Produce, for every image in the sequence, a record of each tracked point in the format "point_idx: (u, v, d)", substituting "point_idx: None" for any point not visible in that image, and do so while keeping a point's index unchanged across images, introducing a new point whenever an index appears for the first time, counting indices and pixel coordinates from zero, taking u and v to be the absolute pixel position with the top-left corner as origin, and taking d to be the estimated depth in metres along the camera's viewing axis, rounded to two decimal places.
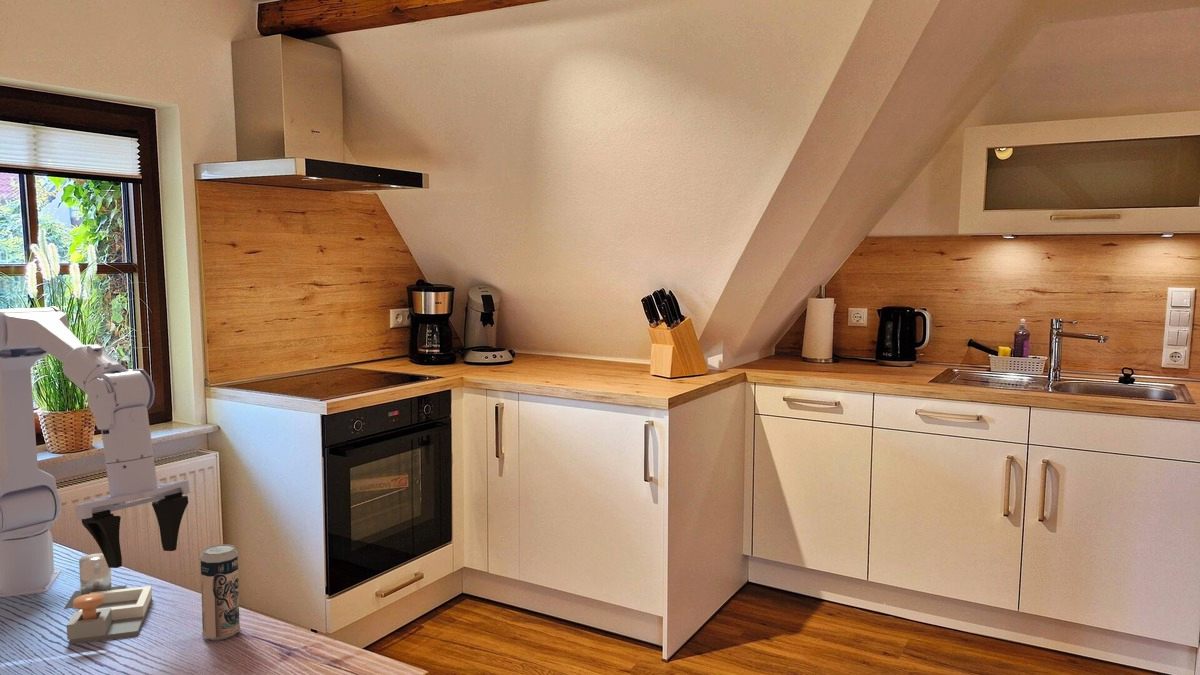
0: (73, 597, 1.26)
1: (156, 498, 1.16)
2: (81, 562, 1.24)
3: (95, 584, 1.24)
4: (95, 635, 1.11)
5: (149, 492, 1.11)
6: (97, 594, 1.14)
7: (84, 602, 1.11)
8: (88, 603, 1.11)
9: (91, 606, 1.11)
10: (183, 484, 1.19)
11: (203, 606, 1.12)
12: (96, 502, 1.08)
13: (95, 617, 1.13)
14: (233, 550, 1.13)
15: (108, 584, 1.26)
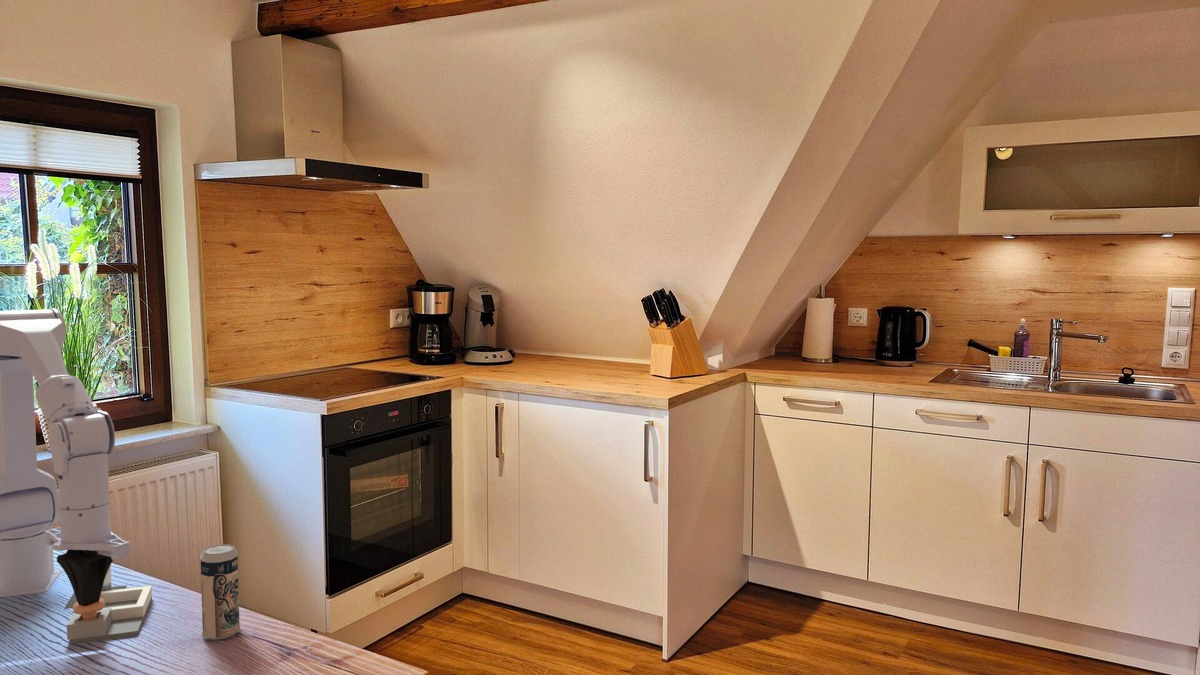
0: (73, 597, 1.26)
1: (97, 551, 1.11)
2: None
3: None
4: (95, 635, 1.11)
5: (54, 546, 1.08)
6: None
7: (84, 607, 1.11)
8: (88, 608, 1.11)
9: (91, 611, 1.11)
10: (111, 549, 1.08)
11: (203, 606, 1.12)
12: (50, 534, 1.13)
13: None
14: (233, 550, 1.13)
15: (108, 584, 1.26)
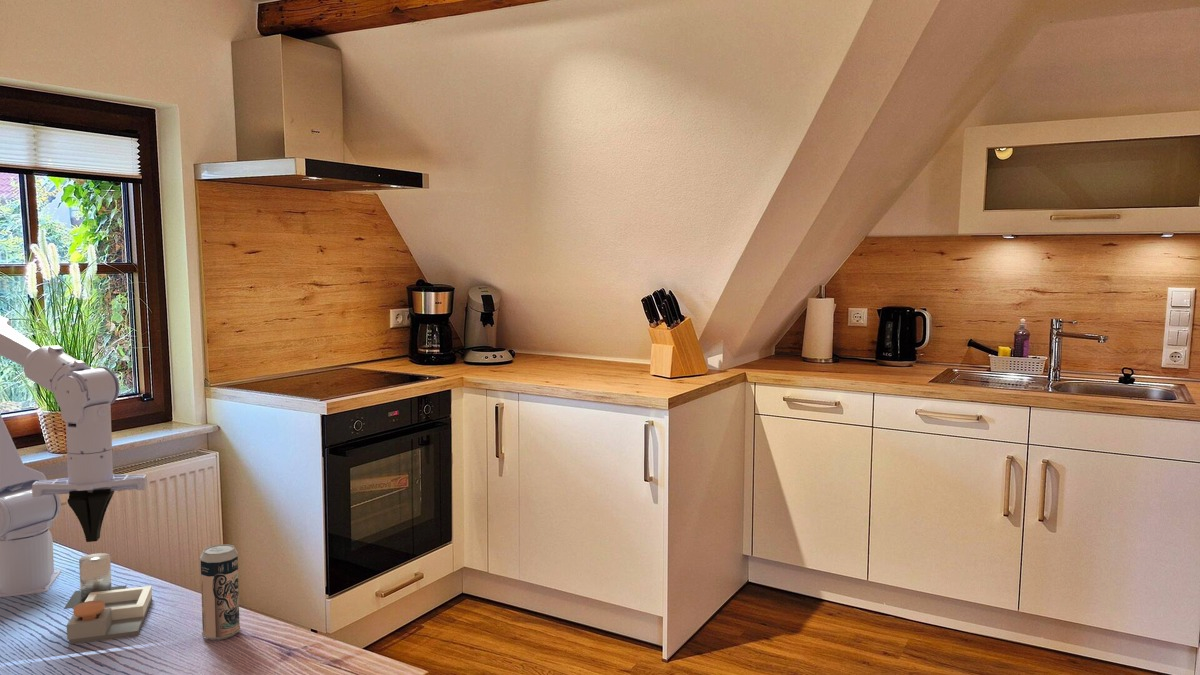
0: (73, 597, 1.26)
1: (111, 489, 1.25)
2: (81, 562, 1.24)
3: (95, 584, 1.24)
4: (95, 635, 1.11)
5: (81, 487, 1.20)
6: (98, 602, 1.14)
7: (84, 610, 1.11)
8: (88, 611, 1.11)
9: (91, 614, 1.11)
10: (138, 481, 1.25)
11: (203, 606, 1.12)
12: (44, 484, 1.21)
13: None
14: (233, 550, 1.13)
15: (108, 584, 1.26)
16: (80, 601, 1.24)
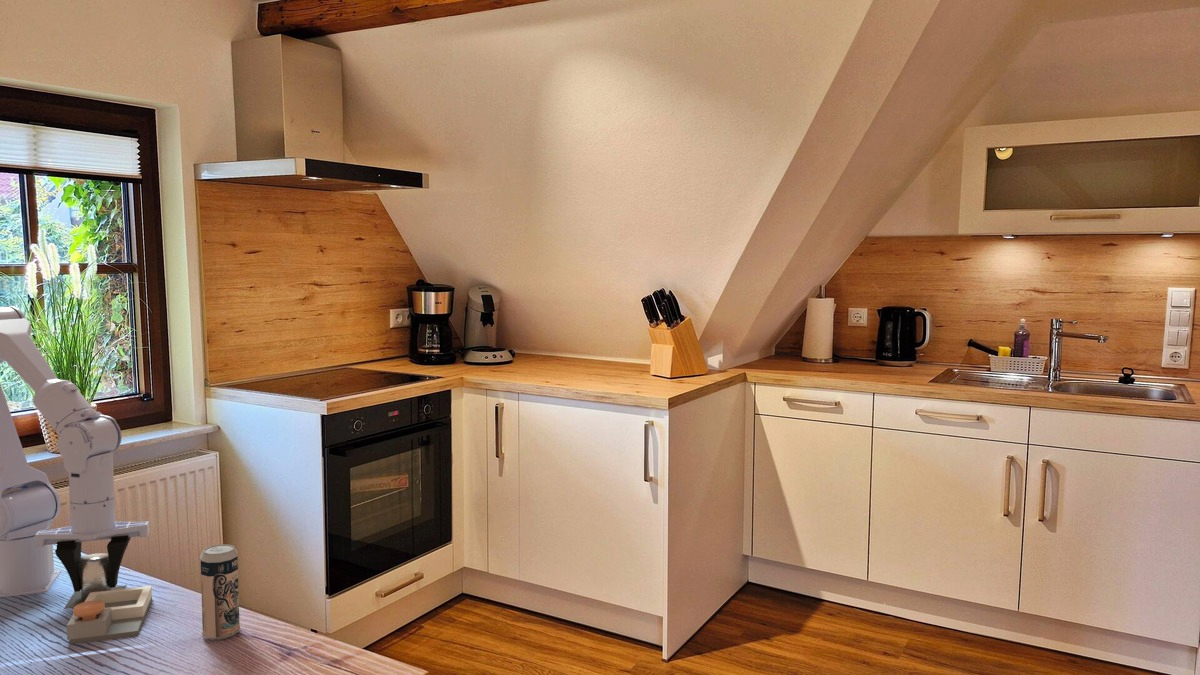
0: (73, 597, 1.26)
1: (114, 536, 1.26)
2: (81, 562, 1.24)
3: (95, 584, 1.24)
4: (95, 635, 1.11)
5: (85, 537, 1.21)
6: (98, 602, 1.14)
7: (84, 610, 1.11)
8: (88, 611, 1.11)
9: (91, 614, 1.11)
10: (140, 528, 1.27)
11: (203, 606, 1.12)
12: (47, 534, 1.22)
13: None
14: (233, 550, 1.13)
15: (108, 584, 1.26)
16: (80, 601, 1.24)
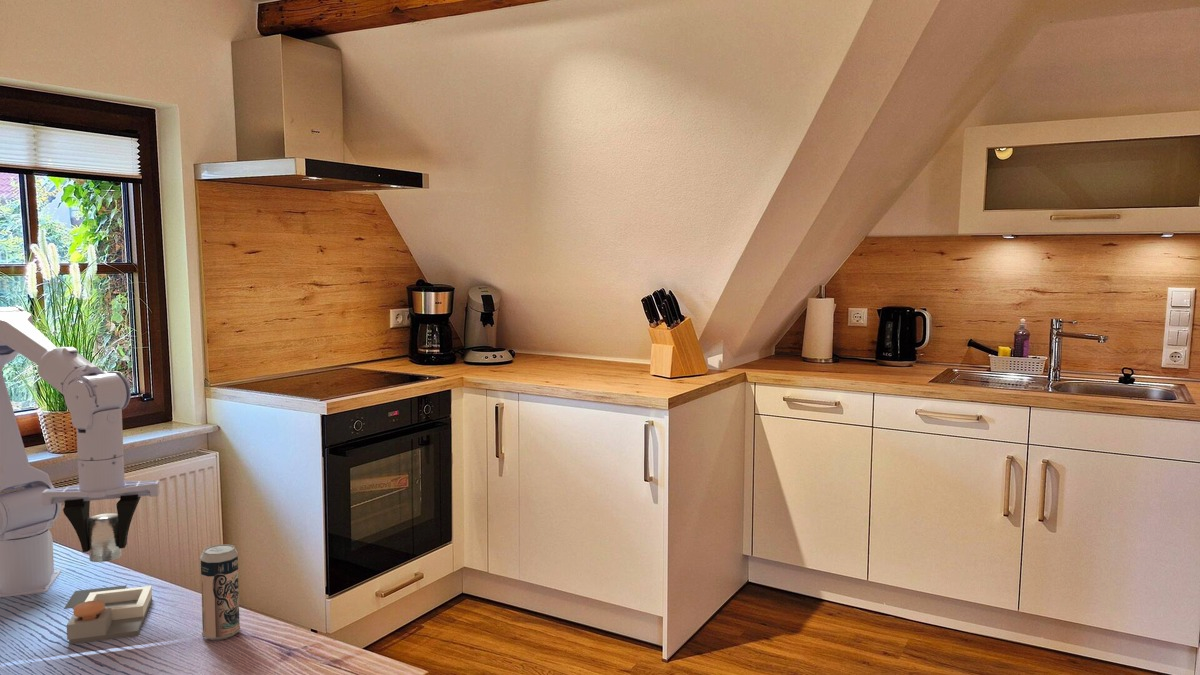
0: (73, 597, 1.26)
1: (123, 495, 1.22)
2: (90, 521, 1.20)
3: (104, 544, 1.20)
4: (95, 635, 1.11)
5: (94, 494, 1.18)
6: (98, 602, 1.14)
7: (84, 610, 1.11)
8: (88, 611, 1.11)
9: (91, 614, 1.11)
10: (151, 487, 1.23)
11: (203, 606, 1.12)
12: (54, 492, 1.18)
13: None
14: (233, 550, 1.13)
15: (117, 544, 1.22)
16: (80, 601, 1.24)
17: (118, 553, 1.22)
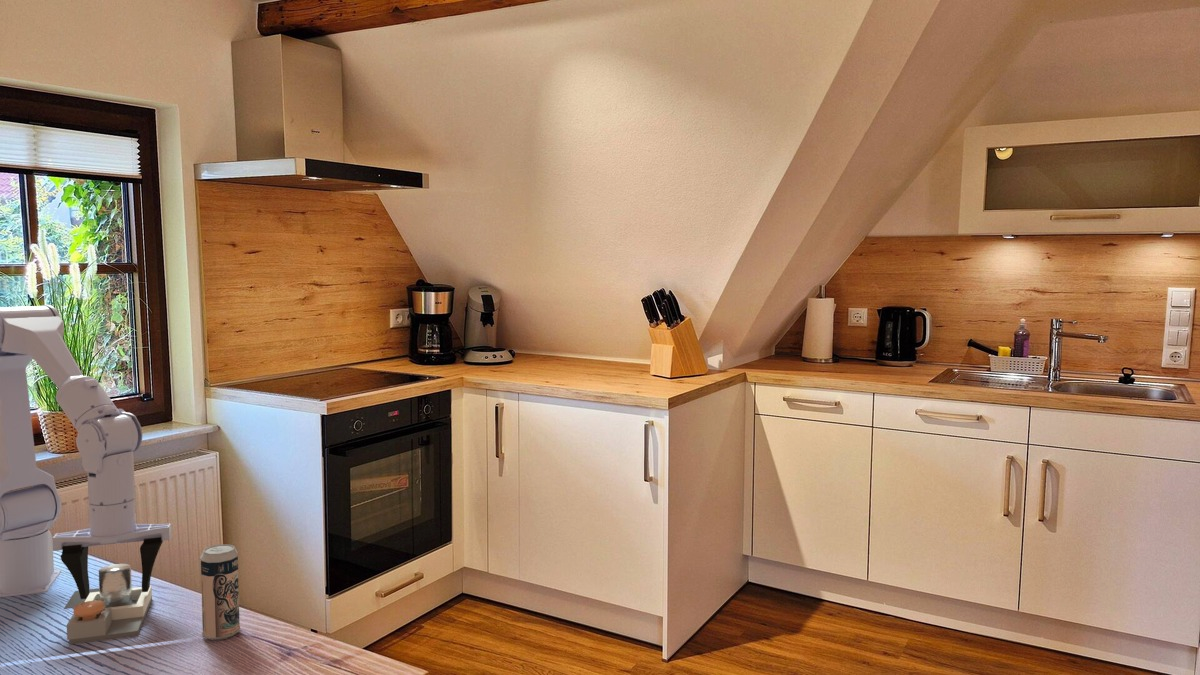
0: (73, 597, 1.26)
1: (134, 540, 1.20)
2: (101, 573, 1.18)
3: (115, 596, 1.18)
4: (95, 635, 1.11)
5: (105, 540, 1.15)
6: (98, 602, 1.14)
7: (84, 610, 1.11)
8: (88, 611, 1.11)
9: (91, 614, 1.11)
10: (162, 531, 1.20)
11: (203, 606, 1.12)
12: (65, 538, 1.16)
13: None
14: (233, 550, 1.13)
15: (129, 596, 1.20)
16: (80, 601, 1.24)
17: None
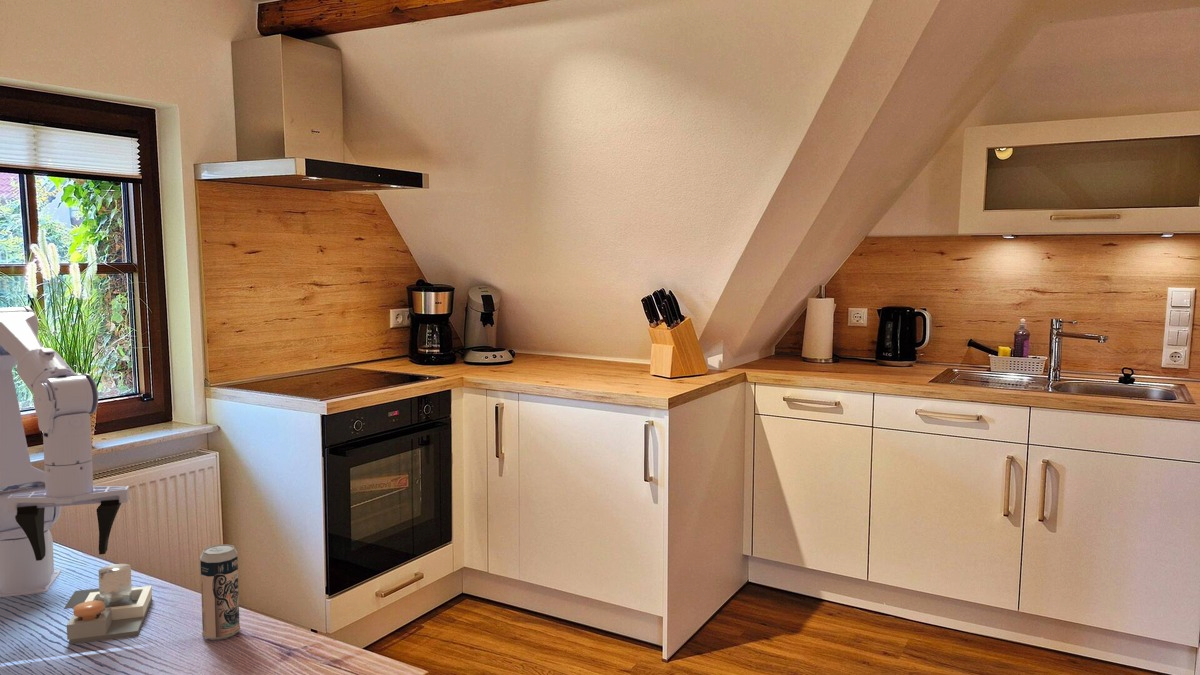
0: (73, 597, 1.26)
1: (91, 501, 1.19)
2: (101, 573, 1.18)
3: (115, 596, 1.18)
4: (95, 635, 1.11)
5: (60, 500, 1.14)
6: (98, 602, 1.14)
7: (84, 610, 1.11)
8: (88, 611, 1.11)
9: (91, 614, 1.11)
10: (120, 493, 1.19)
11: (203, 606, 1.12)
12: (20, 498, 1.15)
13: None
14: (233, 550, 1.13)
15: (129, 596, 1.20)
16: (80, 601, 1.24)
17: None
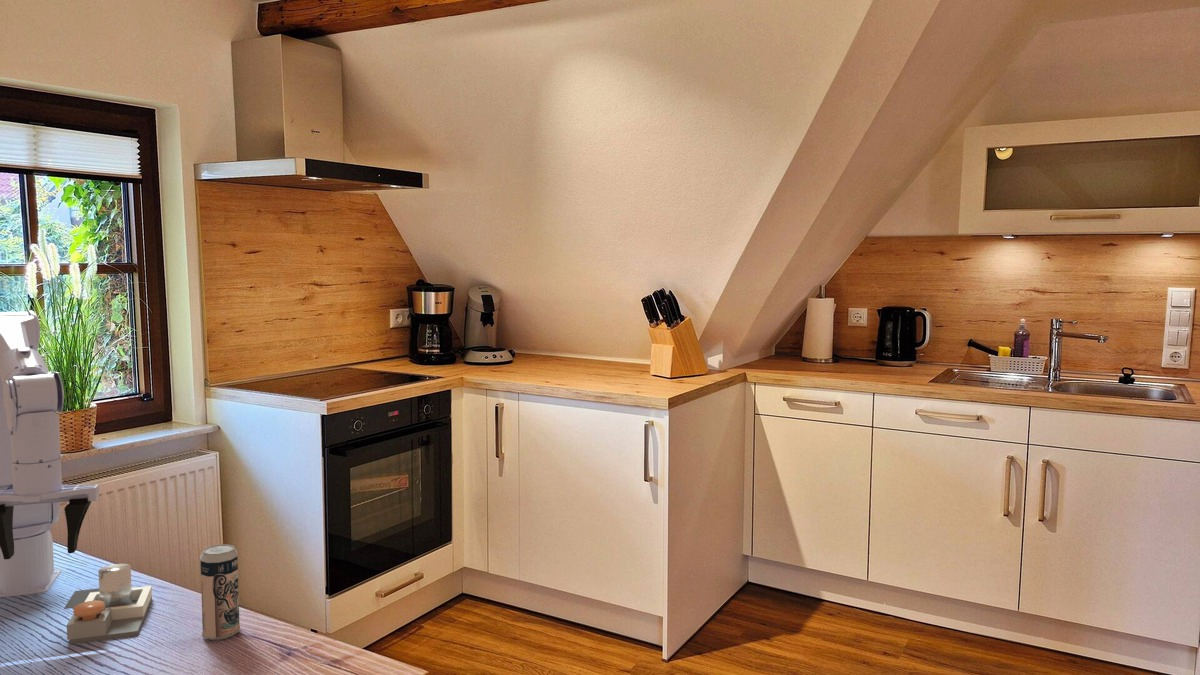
0: (73, 597, 1.26)
1: (60, 500, 1.18)
2: (101, 573, 1.18)
3: (115, 596, 1.18)
4: (95, 635, 1.11)
5: (27, 499, 1.14)
6: (98, 602, 1.14)
7: (84, 610, 1.11)
8: (88, 611, 1.11)
9: (91, 614, 1.11)
10: (89, 491, 1.19)
11: (203, 606, 1.12)
12: None
13: None
14: (233, 550, 1.13)
15: (129, 596, 1.20)
16: (80, 601, 1.24)
17: None
